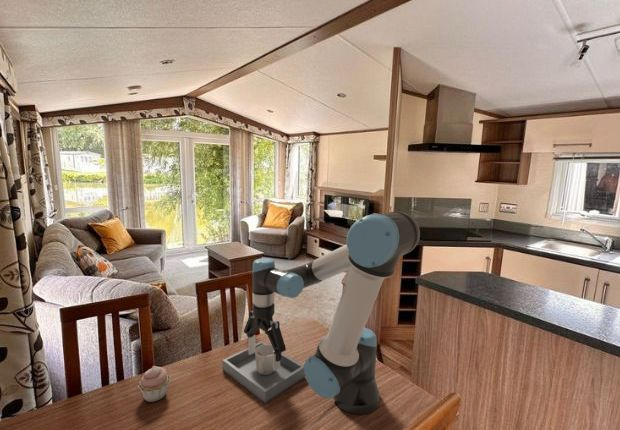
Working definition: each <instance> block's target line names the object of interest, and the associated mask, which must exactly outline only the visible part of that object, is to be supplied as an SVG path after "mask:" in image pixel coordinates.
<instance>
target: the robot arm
mask: <svg viewBox="0 0 620 430" xmlns="http://www.w3.org/2000/svg"><path fill="white" fill-rule="evenodd" d="M420 238H421V231H420V227H419V225H418V223H417V221H416V220H415V219H414V217H412V216H411V215H410V214H408V213H406V212H404V211H391V212H384V213H371V214H369V215H366V216H363V217H360V218H359V219H357V220H356V221H355V222H354V223H353V224H352V225H351V226H350V228H349V230H348V232H347V235H346V240H345V241H346V242H345V245H342V246H339V247H338V248H336V249H334V250H331V251H330V252H328V253H326V254H324V255H322V256H320V257H317V258H316V259H314V260H312V261H309V262H308V263H305V264H303V265H300V266H295V267H293V268H288V269H286V270H285V269H284V270H283V269H279V268H277V267H276V264H275V261H274V260H273V259H272V258H268V257H266V258H265V257H262V258H261V257H260V258H258V259H257V258H256V259H255V260H254V261H253V263H252V270H251V273H252V274H251V275H252V277H251V278H252V310H251V311H249V313H248V318H247V321H246V323H245V326H244V329H243V333H244V334H246V336H247V346H248V347H247V348H248V354H249V355H251V354H253V353H255V350H256V344H257V343H256V335H255V334H256V332H257V331H258V329H260V330H262V331H263V332H264V333H265V334H266V335H267V338H268V339H269V342H270V344H271V345H272V347H273V349H274V352H273V370H274V371H275V370H277V369H278V368H280V360H281V353H283V352H285V351H286V350H287V348H286V347H287V346H286V345H285V340H284V338H283V334H282V331H281V325H280V321H279V320H277V321H274V319H273V316H274V314H275V293H276V294H278V295H280V296H283V297H286V298H290V299H296V298H298V297H299V295H300V294H301V293H302V292H303V289H305V288H308V287H311V286H313V285H317V284H320V283H321V282H324V281H325V280H327V279H330V278H332V277H334V276H337V275H339V274H342V273H344V272H347V271H349V272H348V276H347V279H346V281H345V284H344V285H343V286H344V287H343V290H342V292H341V295H340V298H339V302H338V304H337V307H336V310H335V312H334V316H333V318H332V321H331V324H330V327H329V329H328V332H327V334H324V335H323V336H322V337H320V340H319V341H318V345H317V348H316V351H315V352H314V353H313V355H310V356H309V357H307V358H306V360H305V361H304V364H303V366H304V374H305V379H306V382H307V384H308V385H309V387H310V388H311V390H312V391H313V392H314V393H315V394H317V396H319V397H321V398H323V399H329V400H330V399H333V400H334V403H335V404H336V406H337V407H338V408H340V409H341V410H343V411H345V412H347V413H350V414H353V415H365V414H369V413H372V412H373V411H375V410H376V409H377V408H378V406H379V404H380V390H379V387H378V384H377V380H376V362H377V346H378V344H377V342H378V341H377V340H378V339H377V335H376V333H375V332H374V331H373V330H371V329H370V328H367V327H366V325H367V322H368V320H369V318H370V315H371V312H372V309H373V307H374V305H375V302H376V299H377V298H378V295H379V292H380V289H381V287H382V285H383V282H384V280H385V279H388V278H391V277H392V276H393V274H394V272H395V269H396V267H397V264H398V262H399V260H400V257H402V256H405V255H407V254H409V253H411V252H412V251H413V250H414V249H415V248H416V246H417V245H418V243H419V242H420Z"/></svg>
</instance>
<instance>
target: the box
mask: <svg viewBox="0 0 620 430" xmlns="http://www.w3.org/2000/svg"><path fill="white" fill-rule="evenodd" d="M264 344H267V343H266V342H264V341H259V342H258V343H256V348H257V347H258V346H260V345H264ZM222 371H223V372H224V373H225V374H226V375H228V377H230V378H232V379H233V380H234V381H236V382H237V383H239V385H240V386H242V387H243V388H244V389H245V390H247V392H249V393H250V394H252V395H253V396H255V397H256V398H257V399H258V400H260V401H261V402H263V403H264V404H267V403H269V402H270V401H272V400H273V399H274V398H276V397H278V396H279V395H281V394H282V393H284V392H285V391H286V390H288V389H291V387H293V386H294V385H296V384H297V383H299V382H300V381H302V380H303V379H306V377H305V374H304V364H302V363H300V362H298V361H297V360H295V359H293V358H291V357H289V356H288V355H286V354H284V353H283V352H282V353H281V360H280V368H278V369H277V370H275V371H274V372H273V373H271V374H268V375H262V374H259V373H258V371H257V366H256V357H255V353H253V354H251V355H249V354H248V347H247V348H245V349H243V350H241V351H239V352H236V353H234V354H232V355H230V356H228V357H226V358H224V359H222Z"/></svg>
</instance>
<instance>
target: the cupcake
mask: <svg viewBox="0 0 620 430" xmlns="http://www.w3.org/2000/svg"><path fill="white" fill-rule="evenodd" d="M168 374H169V373H167V371H166V369H165V368H164V367H161V366H156V365H152V367H151V368H149V369H147V371H145V372H144V374H143V376H142V377H140V378H141V379H140V381H138V382H139V385H137V388H138V389H139V390H140V391H141V394H142V397H143V399H144V400H145V401H146V402H148V403H149V402H150V403H151V402H152V403H154V402H157V401H159V400H160V401H161V399H163V398H164V397H165V396H166V394H167V392H168V391H167V390H168V387H169V385H170V382H171V378H172V375H168Z"/></svg>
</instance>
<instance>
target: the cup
mask: <svg viewBox="0 0 620 430" xmlns="http://www.w3.org/2000/svg"><path fill="white" fill-rule="evenodd" d="M273 352H274V349H273V347H272V344H271V343H270V344H269V343H266V344H264V345H260V346H258V347H257V348H256V350H255V357H256V366H257V371H258V373H259V374H262V375H268V374H271V373H273V372H274V370H273Z"/></svg>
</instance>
